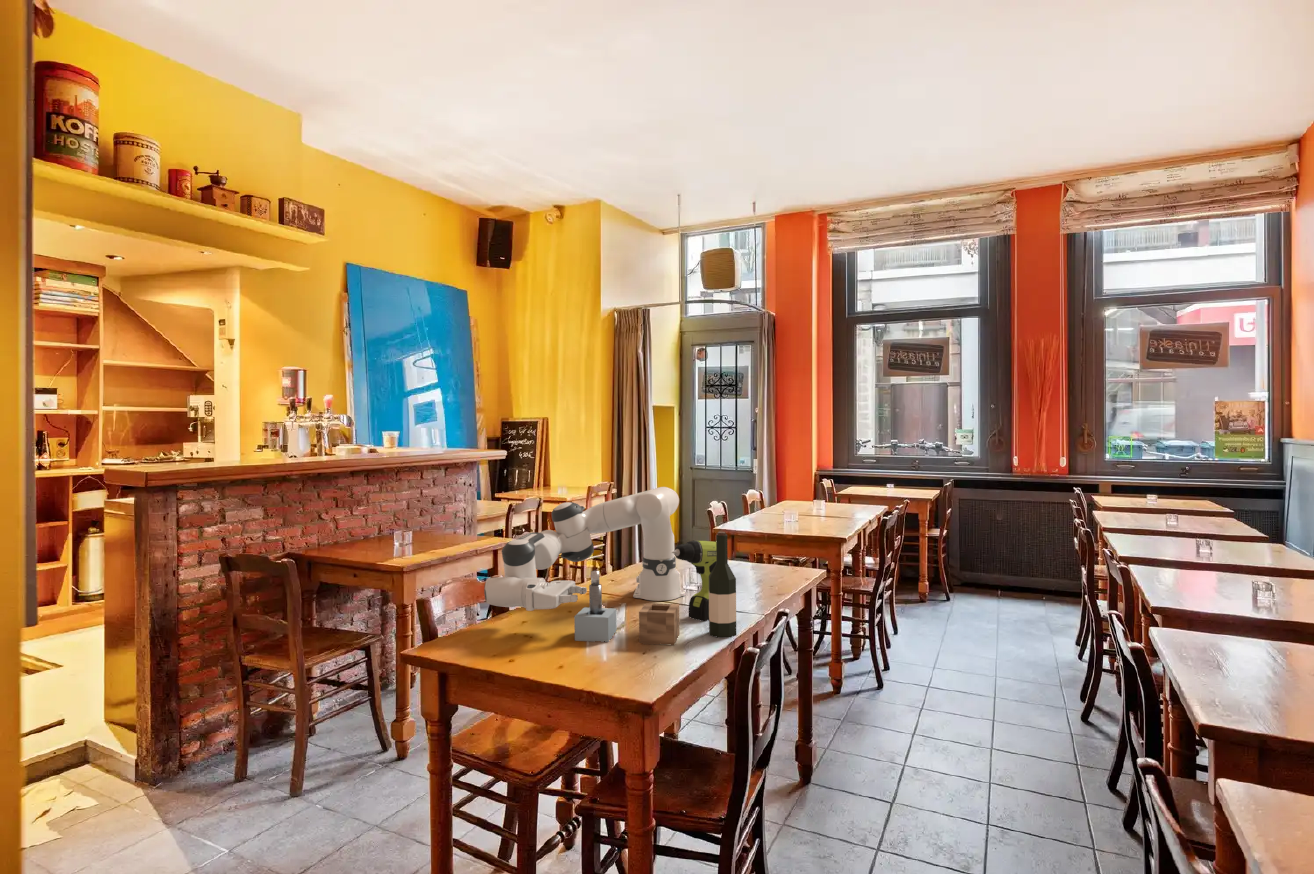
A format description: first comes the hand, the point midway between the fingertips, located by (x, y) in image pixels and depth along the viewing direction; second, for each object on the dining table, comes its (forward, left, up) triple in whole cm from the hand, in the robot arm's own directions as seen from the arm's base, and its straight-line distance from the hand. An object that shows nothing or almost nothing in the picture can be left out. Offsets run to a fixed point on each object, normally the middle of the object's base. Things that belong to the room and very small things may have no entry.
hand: (581, 594), depth 207 cm
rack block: (+7, +22, -12) cm, 26 cm away
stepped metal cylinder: (+1, +4, -9) cm, 10 cm away
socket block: (+1, +4, -12) cm, 13 cm away
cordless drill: (-12, +37, -12) cm, 41 cm away
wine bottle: (+5, +41, -12) cm, 43 cm away
